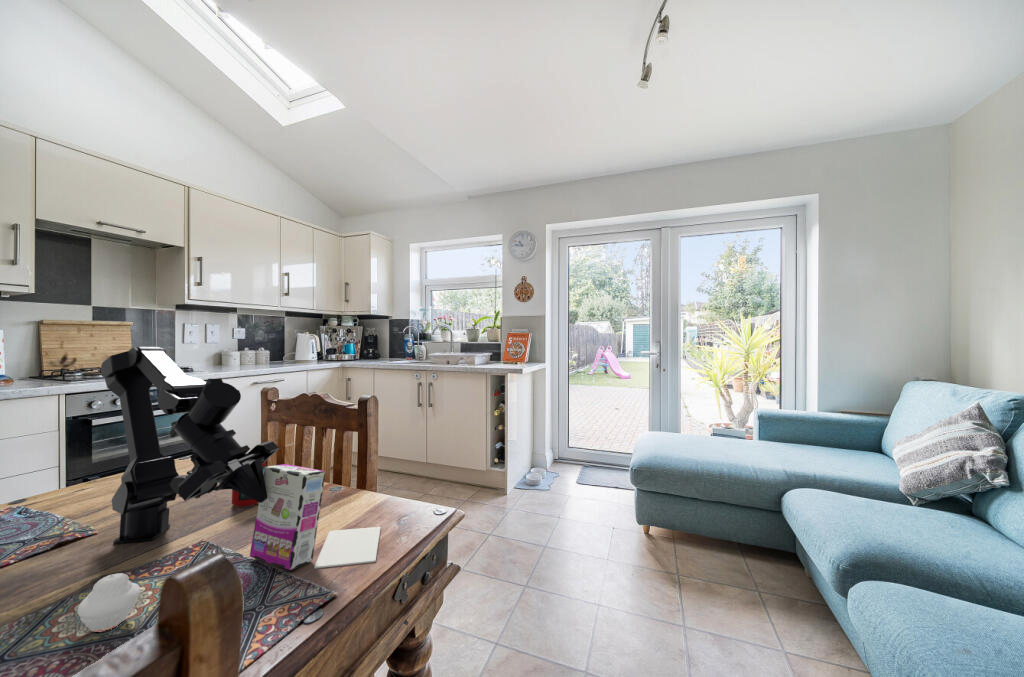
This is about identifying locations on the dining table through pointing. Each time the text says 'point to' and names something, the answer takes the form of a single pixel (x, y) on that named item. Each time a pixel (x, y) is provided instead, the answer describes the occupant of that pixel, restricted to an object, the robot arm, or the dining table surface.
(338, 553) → the mat
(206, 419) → the robot arm
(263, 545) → the candy bar box
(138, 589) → the white lumpy blob
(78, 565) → the dining table surface
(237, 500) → the beverage can
